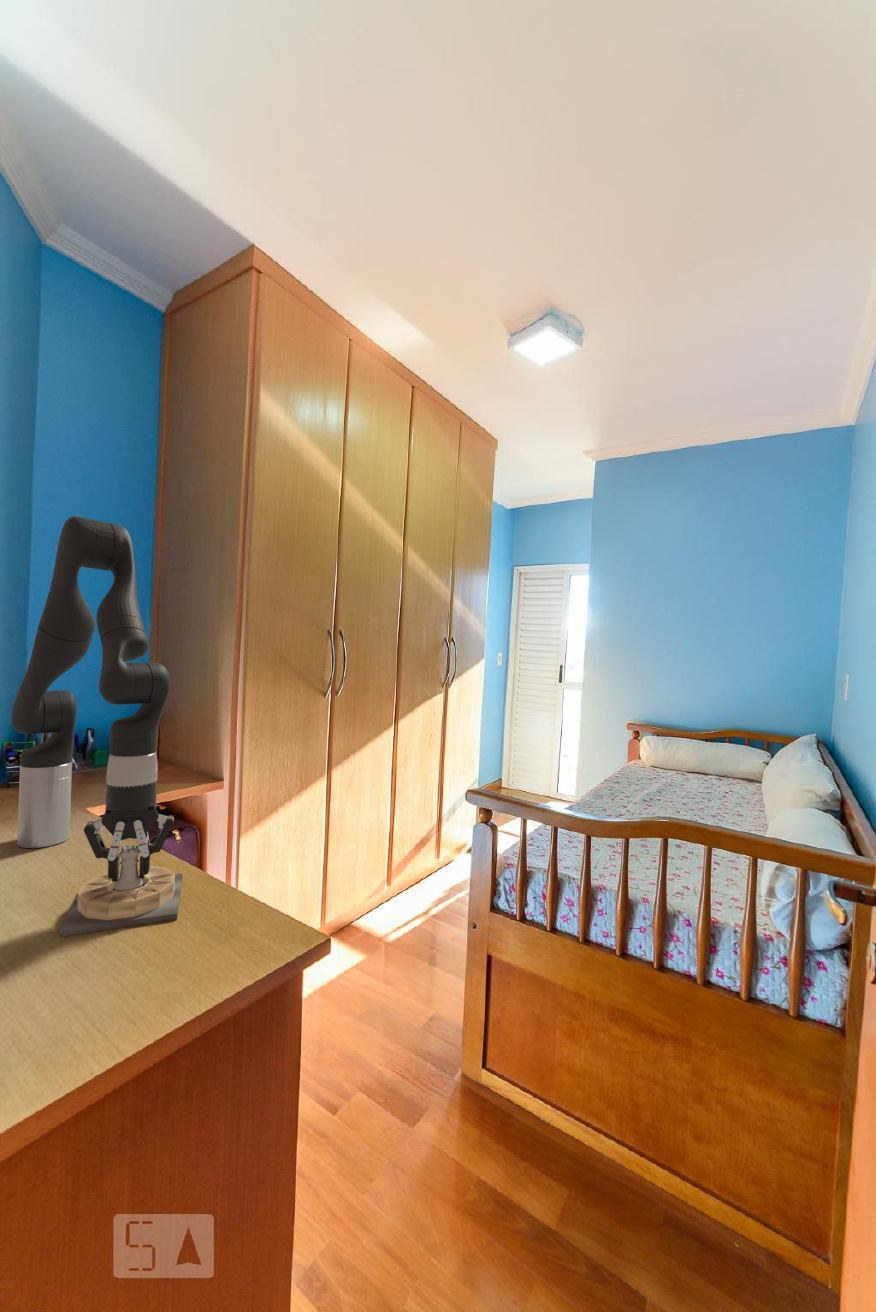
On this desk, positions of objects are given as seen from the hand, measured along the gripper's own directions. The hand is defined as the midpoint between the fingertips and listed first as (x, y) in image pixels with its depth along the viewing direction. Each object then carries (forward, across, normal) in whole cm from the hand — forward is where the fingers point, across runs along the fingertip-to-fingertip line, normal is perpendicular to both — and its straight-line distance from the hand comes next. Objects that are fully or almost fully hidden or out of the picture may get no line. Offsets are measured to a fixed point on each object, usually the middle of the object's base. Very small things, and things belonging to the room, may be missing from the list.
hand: (128, 877), depth 90 cm
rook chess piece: (+3, 0, 0) cm, 3 cm away
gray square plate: (+5, 0, 0) cm, 5 cm away
